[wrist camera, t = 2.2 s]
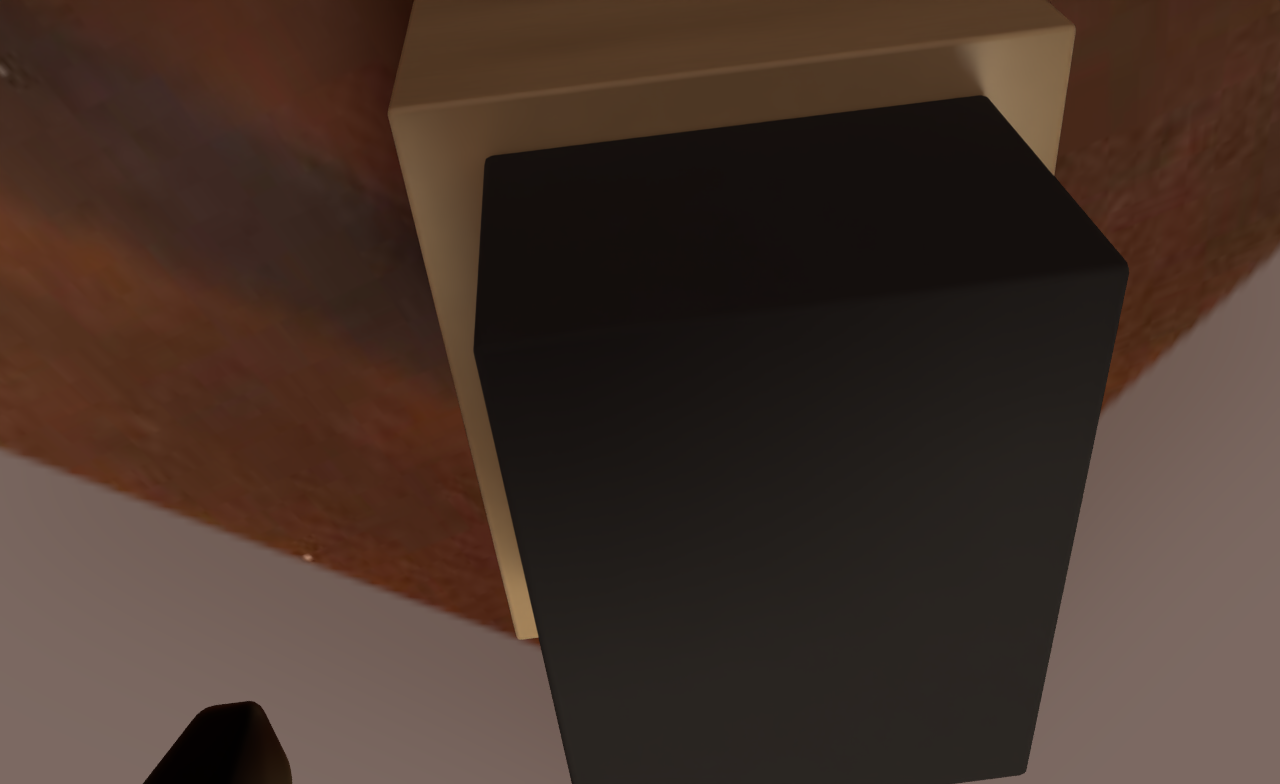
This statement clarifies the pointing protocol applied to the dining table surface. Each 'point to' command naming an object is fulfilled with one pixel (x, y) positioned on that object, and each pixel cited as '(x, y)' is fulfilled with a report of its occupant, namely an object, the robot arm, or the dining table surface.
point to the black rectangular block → (795, 439)
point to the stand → (670, 113)
